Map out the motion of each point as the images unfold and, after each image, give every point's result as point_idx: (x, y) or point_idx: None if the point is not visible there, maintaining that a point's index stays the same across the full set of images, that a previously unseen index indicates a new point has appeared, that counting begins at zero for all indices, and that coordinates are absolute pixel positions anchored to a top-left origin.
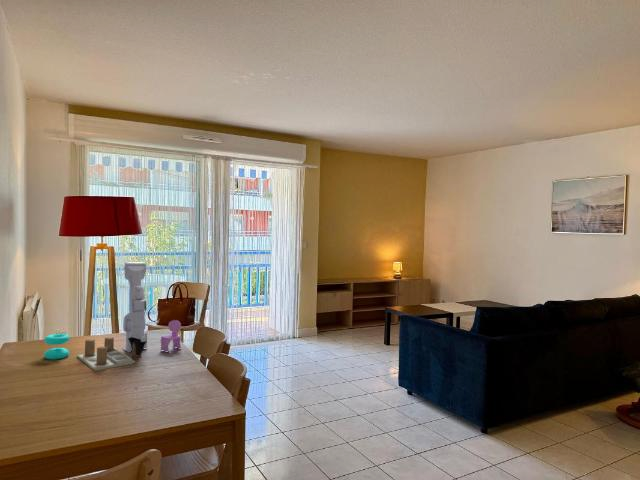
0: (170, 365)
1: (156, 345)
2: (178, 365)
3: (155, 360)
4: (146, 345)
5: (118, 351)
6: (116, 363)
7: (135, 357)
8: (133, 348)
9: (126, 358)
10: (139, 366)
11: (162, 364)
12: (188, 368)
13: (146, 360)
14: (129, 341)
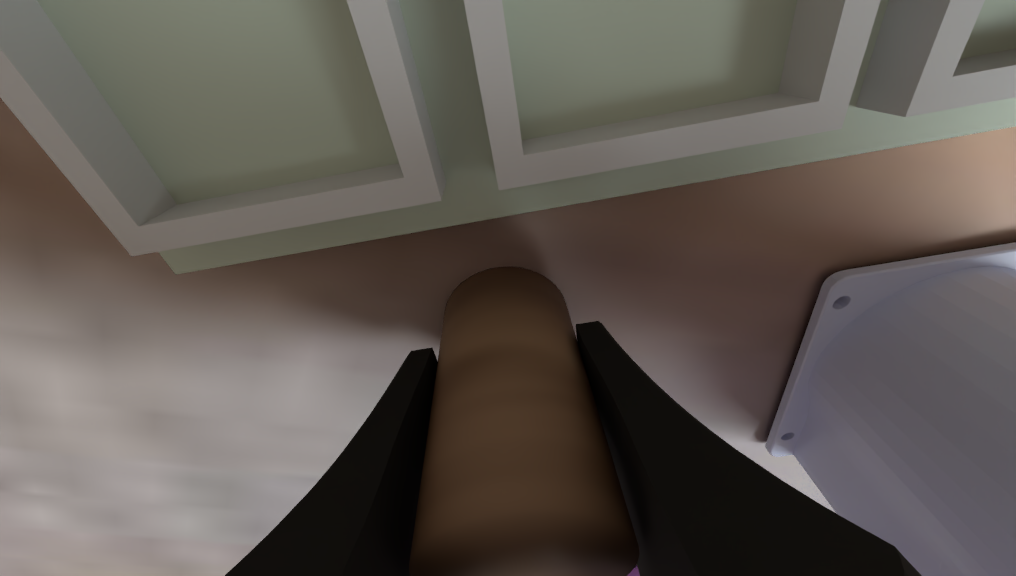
0: (105, 510)
1: (828, 505)
2: (107, 543)
3: (312, 448)
4: (815, 482)
5: (851, 93)
6: None
7: (449, 310)
8: (472, 403)
9: (357, 173)
10: (26, 282)
11: (142, 473)
12: (15, 571)
13: (335, 387)
14: (785, 487)
